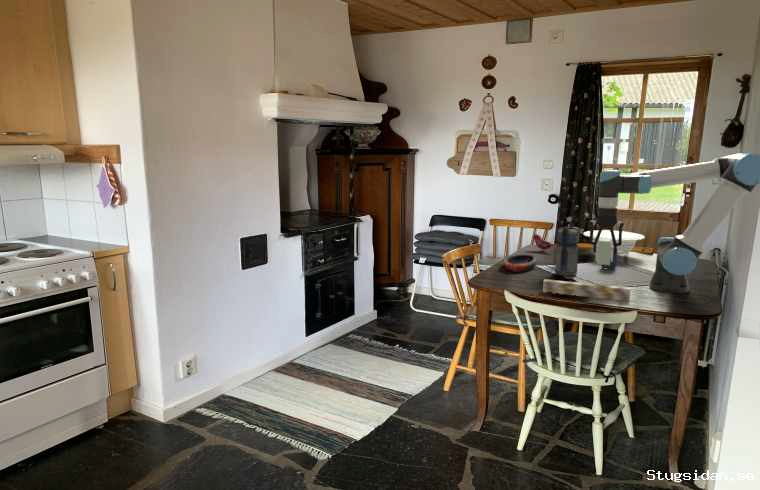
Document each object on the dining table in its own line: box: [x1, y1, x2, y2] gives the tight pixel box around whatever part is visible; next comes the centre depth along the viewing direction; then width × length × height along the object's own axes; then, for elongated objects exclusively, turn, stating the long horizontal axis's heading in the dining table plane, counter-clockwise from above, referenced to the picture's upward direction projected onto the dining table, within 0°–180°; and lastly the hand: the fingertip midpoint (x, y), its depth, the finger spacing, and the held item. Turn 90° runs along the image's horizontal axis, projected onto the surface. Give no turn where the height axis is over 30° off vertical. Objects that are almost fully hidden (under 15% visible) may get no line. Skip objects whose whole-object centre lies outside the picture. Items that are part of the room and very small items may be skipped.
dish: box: [502, 253, 538, 273], centre depth 273 cm, size 16×31×5 cm, turn 147°
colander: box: [583, 229, 646, 256], centre depth 294 cm, size 32×32×13 cm
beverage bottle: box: [554, 222, 580, 277], centre depth 255 cm, size 10×13×25 cm
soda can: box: [600, 245, 618, 270], centre depth 268 cm, size 7×7×12 cm
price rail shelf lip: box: [542, 278, 631, 302], centre depth 221 cm, size 34×4×5 cm, turn 66°
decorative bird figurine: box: [532, 233, 558, 253], centre depth 308 cm, size 3×18×10 cm, turn 40°
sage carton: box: [596, 238, 612, 265], centre depth 225 cm, size 8×5×10 cm, turn 156°
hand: (604, 260), depth 226 cm, fingers closed on sage carton, 5 cm apart
